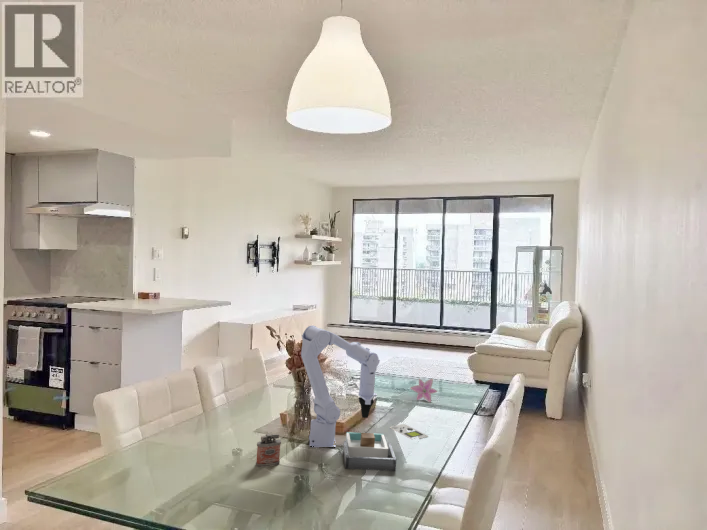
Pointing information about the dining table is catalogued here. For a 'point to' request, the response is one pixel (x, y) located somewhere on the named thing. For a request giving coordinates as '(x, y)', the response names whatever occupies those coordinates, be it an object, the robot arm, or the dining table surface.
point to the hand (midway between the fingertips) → (364, 417)
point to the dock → (370, 461)
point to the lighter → (268, 451)
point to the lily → (424, 389)
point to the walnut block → (367, 440)
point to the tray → (358, 451)
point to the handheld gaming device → (403, 430)
